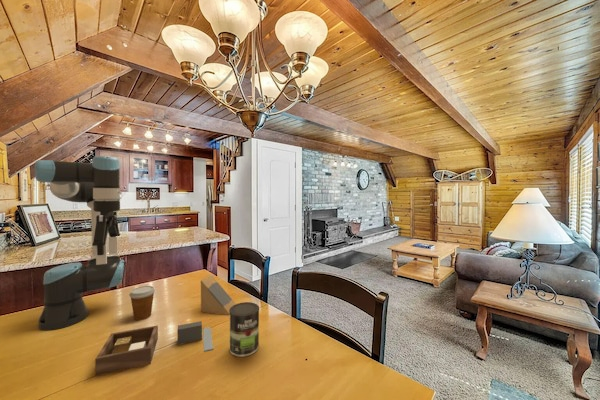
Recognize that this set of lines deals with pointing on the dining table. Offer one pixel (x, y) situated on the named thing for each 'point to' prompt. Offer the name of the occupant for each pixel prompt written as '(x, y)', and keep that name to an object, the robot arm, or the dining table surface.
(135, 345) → the off-white block
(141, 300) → the disposable coffee cup
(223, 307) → the sandwich container
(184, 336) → the lid
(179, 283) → the dining table surface
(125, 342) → the brass block
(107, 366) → the box
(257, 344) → the coffee can
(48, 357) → the dining table surface
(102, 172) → the robot arm
